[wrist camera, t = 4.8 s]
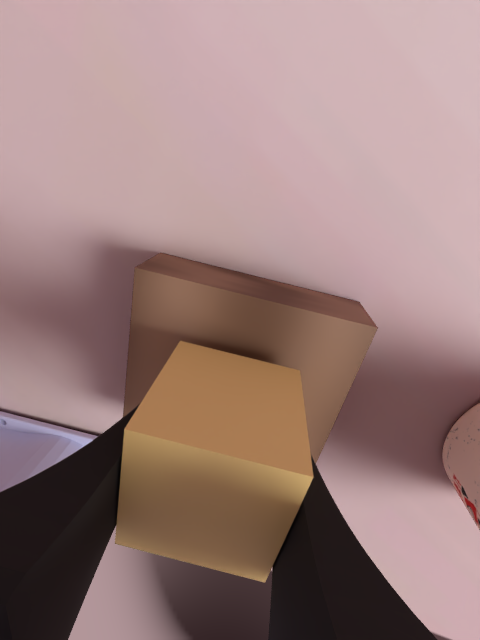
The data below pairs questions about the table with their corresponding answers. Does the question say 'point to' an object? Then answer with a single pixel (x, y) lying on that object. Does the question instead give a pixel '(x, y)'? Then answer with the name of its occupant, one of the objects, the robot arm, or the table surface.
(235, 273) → the walnut base
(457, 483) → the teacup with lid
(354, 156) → the table surface
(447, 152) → the table surface
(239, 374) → the ochre block
